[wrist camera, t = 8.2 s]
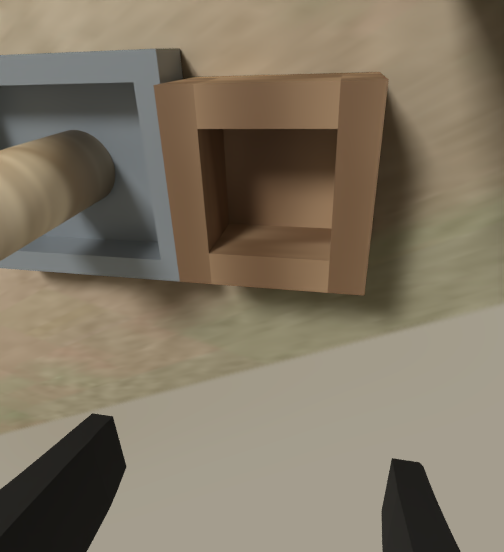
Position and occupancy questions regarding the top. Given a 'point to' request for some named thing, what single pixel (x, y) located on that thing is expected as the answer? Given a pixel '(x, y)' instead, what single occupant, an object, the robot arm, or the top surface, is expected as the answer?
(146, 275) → the tray
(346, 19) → the top surface
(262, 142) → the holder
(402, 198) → the top surface
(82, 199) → the dowel
